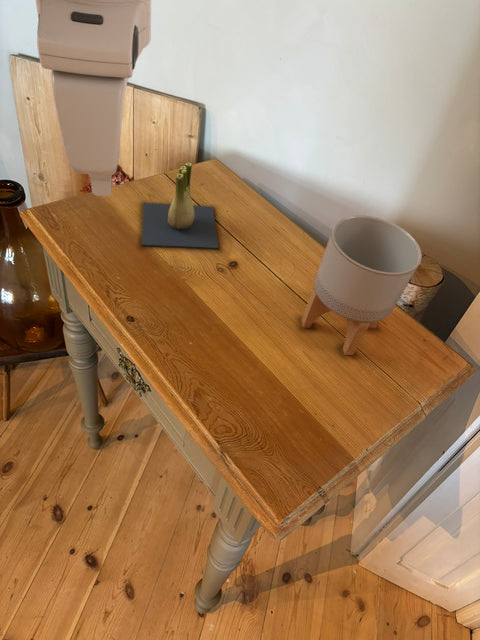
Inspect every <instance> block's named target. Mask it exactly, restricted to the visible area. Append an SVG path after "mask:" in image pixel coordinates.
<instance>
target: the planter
mask: <svg viewBox="0 0 480 640" xmlns="http://www.w3.org/2000/svg"><path fill="white" fill-rule="evenodd" d="M421 261H422V250H421V247H420V245H419V243H418V242H417V240H416V239H415V238H414V237H413V236H412V235H411V234H410V233H409V232H408V231H407V230H405V229H404V228H403V227H401V226H400V225H397V224H395V223H393V222H392V221H389V220H386V219H384V218H380V217H377V216H373V215H367V214H366V215H364V214H355V215H349V216H346V217H343V218H341V219H340V220H338V221H337V222H336V223H334V226H333V228H332V230H331V233H330V236H329V238H328V241H327V243H326V246H325V249H324V252H323V255H322V257H321V260H320V263H319V266H318V268H317V271H316V273H315V277H314V279H313V288H312V291H311V293H310V296H309V299H308V302H307V305H306V307H305V310H304V312H303V315H302V318H301V320H300V322H301V326H302V328H307V329H310V328H311V327H312V325H313V323H314V322H315V321H316V320H317V319H319V318H320V317H321V316H323V315H325V314H327V313H329V312H333V313H334V314H336V315H338V316H339V317H341V318H344V319H346V335H345V339H344V344H343V347H342V352H343V355H344V356H354V355H355V352H356V350H357V349H358V347H359V345H360V343H361V341H362V340H363V338H364V335H365V334H366V332H367V330H368V329H376V327H378V324H379V322H380V321H382V320H384V319H385V318H388V317H389V315H390V314H391V313H392V312H393V310H394V309H395V307H396V306H397V303H398V301H399V300H400V298H401V296H402V294H403V293H404V291H405V290H406V288H407V287H408V284H409V283H410V281H411V279H412V277H413V276H414V274H415V272H416V271H417V269H418V267H419V266H420V264H421Z"/></svg>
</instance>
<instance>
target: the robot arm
mask: <svg viewBox="0 0 480 640" xmlns="http://www.w3.org/2000/svg"><path fill="white" fill-rule="evenodd" d="M35 5H36V11H37V17H38V21H37V22H38V23H37V32H36V33H37V38H36V44H37V45H36V46H37V52H38V58H39V64H40V66H41V67H42V68H43V69H45V70H51V74H50V75H51V76H50V77H51V87H52V94H53V100H54V105H55V106H54V107H55V110H56V115H57V120H58V123H59V125H58V126H59V129H60V134H61V135H60V136H61V139H62V144H63V147H64V151H65V156H66V159H67V163H68V164H69V166H70V168H71V169H72V171H73V172H74V173H76V174H82V175H88V177H89V179H90V188H91V193H92V195H94V196H96V197H110V196H111V195H112V191H113V176H114V175H115V174H116V173H117V170H118V165H119V157H120V146H121V135H122V125H123V117H124V116H123V114H124V108H125V107H124V106H125V97H126V88H127V85H128V83H129V82H128V81H129V79H130V78H132V77H133V74H134V70H135V68H136V63H137V60H138V59H139V57H140V55H141V54H142V52H143V50H144V49H145V48H146V47H148V45H150V43H151V41H152V0H35Z"/></svg>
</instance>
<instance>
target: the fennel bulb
mask: <svg viewBox="0 0 480 640" xmlns="http://www.w3.org/2000/svg"><path fill="white" fill-rule="evenodd" d="M192 168H193V164H192V163H191V162H186V163H184V165H182V166H181V167H179V168H178V173H177V174H176V175H175V195H174V198H173V199H172V201H171V203H170V204H171V206H170V209H169V212H168V223H169V225H170V226H172V227H173V228H175V229H185V228H188V227H190V226H191V225H192V223H193V221H194V208H193V206H194V204H193V201H192V194H191V191H190V190H191V189H190V188H191V176H192Z"/></svg>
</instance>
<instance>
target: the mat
mask: <svg viewBox="0 0 480 640" xmlns="http://www.w3.org/2000/svg"><path fill="white" fill-rule="evenodd" d="M171 204H172V203H151V202H143V207H142V208H143V210H142V213H143V215H142V236H141V237H142V239H141V241H142V242H141V246H142V247H152V248H153V247H155V248H156V247H157V248H175V249H176V248H177V249H179V248H181V249H198V250H199V249H200V250H201V249H202V250H203V249H205V250H219V240H218V234H217V226H216V219H215V211H214V206H202V205H193V208H194V221H193V223H192V225H191V226H190V227H188V228H185V229H175V228H173V227H172V226H170V225H169V223H168V212H169V209H170V206H171Z"/></svg>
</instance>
